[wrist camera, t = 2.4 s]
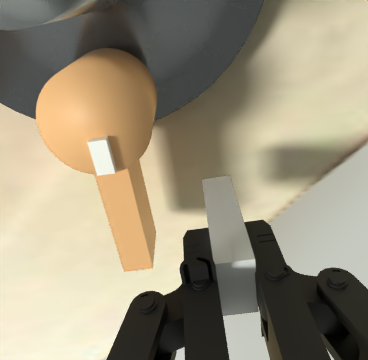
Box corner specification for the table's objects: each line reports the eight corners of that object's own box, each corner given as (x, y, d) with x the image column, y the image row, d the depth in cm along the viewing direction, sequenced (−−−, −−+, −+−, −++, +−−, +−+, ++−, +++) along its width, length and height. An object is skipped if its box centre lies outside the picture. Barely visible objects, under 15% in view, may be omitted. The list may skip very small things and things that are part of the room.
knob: (53, 56, 17) (13, 77, 13) (147, 40, 17) (138, 57, 13) (108, 231, 23) (92, 286, 18) (181, 221, 22) (181, 275, 18)
